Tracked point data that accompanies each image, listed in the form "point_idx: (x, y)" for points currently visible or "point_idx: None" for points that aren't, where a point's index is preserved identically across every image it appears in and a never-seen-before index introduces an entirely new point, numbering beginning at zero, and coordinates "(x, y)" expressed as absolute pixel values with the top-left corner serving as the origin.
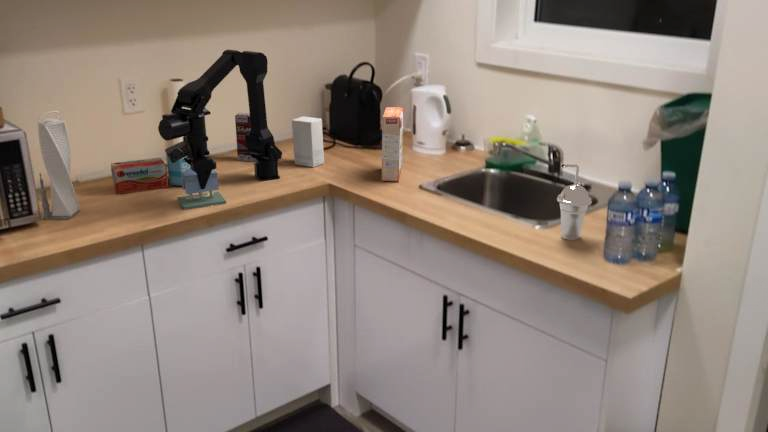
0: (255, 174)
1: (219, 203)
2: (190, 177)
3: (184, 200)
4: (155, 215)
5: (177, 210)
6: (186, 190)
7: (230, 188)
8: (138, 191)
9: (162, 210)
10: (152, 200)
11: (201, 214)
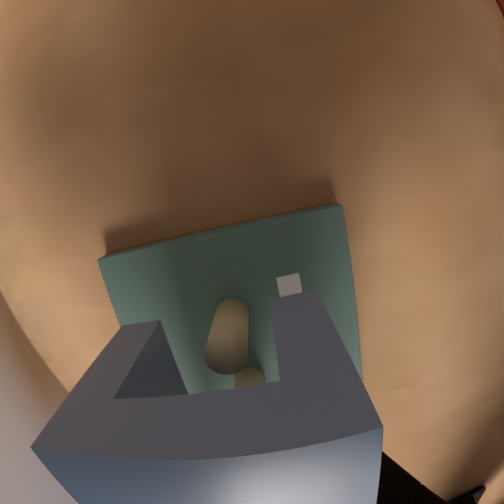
0: (466, 502)
1: None
2: (75, 490)
3: (245, 265)
4: (52, 82)
5: (102, 211)
6: (109, 345)
7: (413, 460)
8: (500, 5)
9: (122, 105)
10: (361, 31)
11: (42, 346)
